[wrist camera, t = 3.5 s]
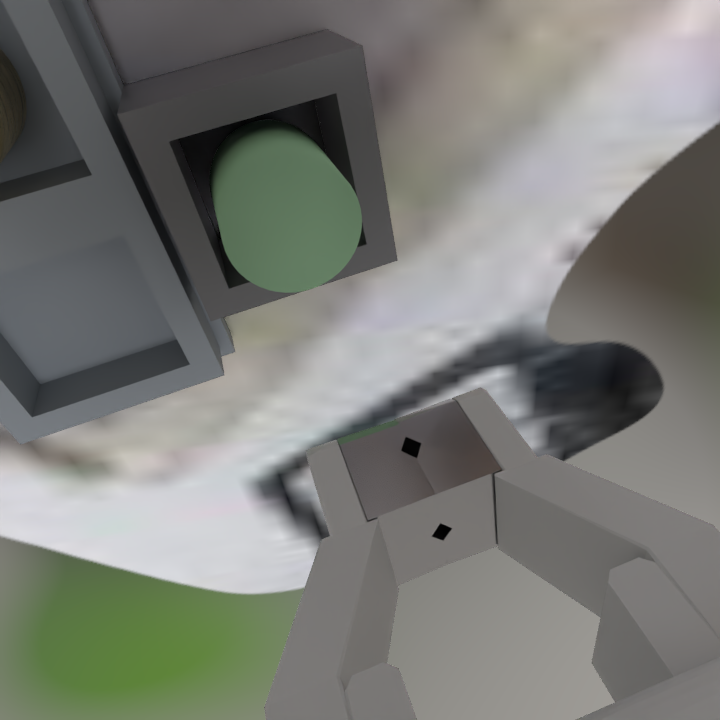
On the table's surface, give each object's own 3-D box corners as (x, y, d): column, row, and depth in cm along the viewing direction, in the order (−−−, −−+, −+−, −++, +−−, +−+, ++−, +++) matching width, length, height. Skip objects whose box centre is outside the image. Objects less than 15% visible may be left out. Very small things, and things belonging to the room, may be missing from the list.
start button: (190, 140, 17) (198, 182, 14) (312, 104, 17) (347, 138, 14) (233, 252, 20) (247, 309, 16) (339, 219, 20) (372, 268, 17)
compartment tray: (-348, -56, 13) (-461, -57, 11) (25, -141, 14) (-1, -158, 12) (29, 404, 23) (14, 457, 21) (231, 336, 24) (240, 380, 22)
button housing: (123, 85, 18) (117, 114, 15) (327, 29, 18) (362, 45, 15) (202, 269, 22) (211, 321, 19) (365, 218, 23) (397, 260, 20)
